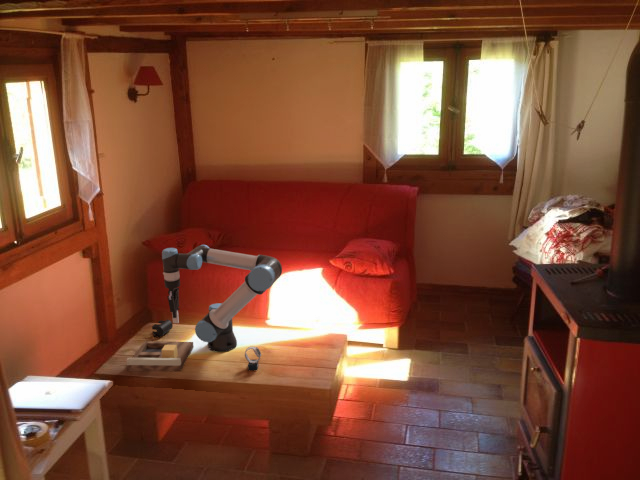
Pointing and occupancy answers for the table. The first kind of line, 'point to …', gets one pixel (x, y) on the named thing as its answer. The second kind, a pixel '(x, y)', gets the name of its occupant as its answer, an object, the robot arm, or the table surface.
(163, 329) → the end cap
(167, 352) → the block
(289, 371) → the table surface
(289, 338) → the table surface
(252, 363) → the watch
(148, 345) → the board
